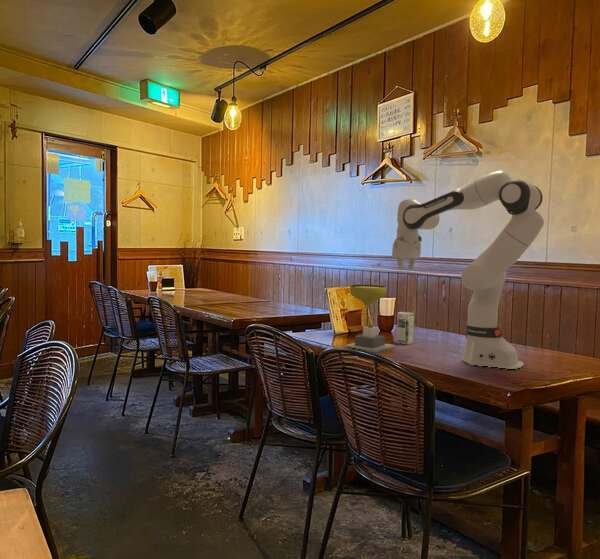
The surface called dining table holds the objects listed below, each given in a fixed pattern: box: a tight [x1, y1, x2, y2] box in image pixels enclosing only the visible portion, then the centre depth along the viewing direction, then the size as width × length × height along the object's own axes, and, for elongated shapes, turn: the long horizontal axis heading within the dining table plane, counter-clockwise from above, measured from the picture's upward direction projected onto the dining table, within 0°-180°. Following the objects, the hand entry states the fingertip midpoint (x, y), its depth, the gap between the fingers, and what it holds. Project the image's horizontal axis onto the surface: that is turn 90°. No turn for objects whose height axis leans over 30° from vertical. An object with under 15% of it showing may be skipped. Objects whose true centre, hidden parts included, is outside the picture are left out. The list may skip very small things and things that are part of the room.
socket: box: [344, 333, 396, 353], centre depth 220 cm, size 16×16×5 cm
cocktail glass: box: [349, 284, 387, 336], centre depth 248 cm, size 18×18×25 cm
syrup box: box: [396, 311, 415, 346], centre depth 231 cm, size 6×6×14 cm
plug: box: [362, 324, 378, 338], centre depth 220 cm, size 4×4×9 cm
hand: (405, 268), depth 218 cm, fingers open, 8 cm apart
